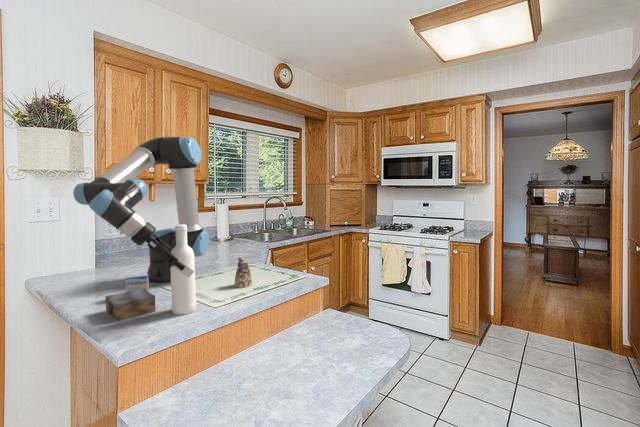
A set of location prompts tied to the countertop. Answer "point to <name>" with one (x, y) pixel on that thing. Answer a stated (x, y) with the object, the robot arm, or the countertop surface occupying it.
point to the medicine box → (136, 282)
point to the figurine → (243, 274)
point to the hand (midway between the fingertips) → (189, 270)
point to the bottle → (180, 283)
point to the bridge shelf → (130, 304)
